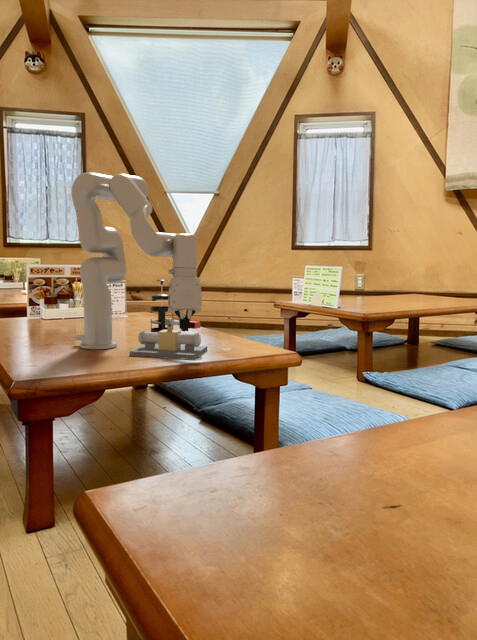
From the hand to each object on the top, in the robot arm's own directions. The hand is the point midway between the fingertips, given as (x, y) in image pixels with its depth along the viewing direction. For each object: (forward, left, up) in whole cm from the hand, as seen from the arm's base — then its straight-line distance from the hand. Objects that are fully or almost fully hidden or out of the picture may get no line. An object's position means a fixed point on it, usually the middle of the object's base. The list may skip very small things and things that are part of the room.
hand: (184, 330), depth 169 cm
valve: (-7, +7, -9) cm, 14 cm away
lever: (-3, +5, +1) cm, 6 cm away
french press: (-21, +38, -9) cm, 45 cm away
